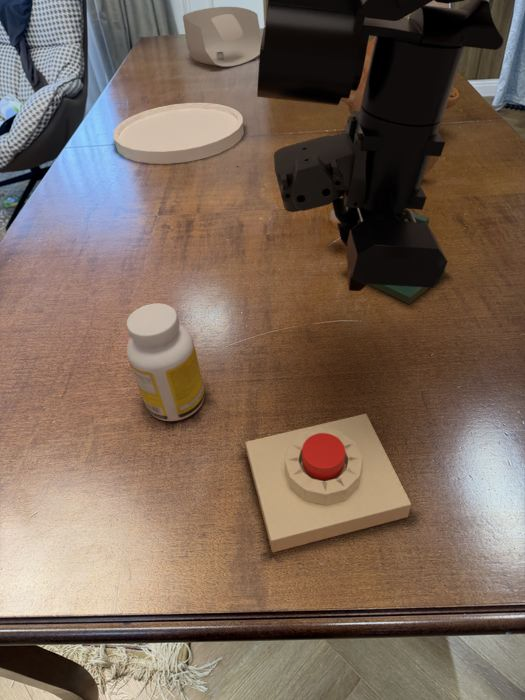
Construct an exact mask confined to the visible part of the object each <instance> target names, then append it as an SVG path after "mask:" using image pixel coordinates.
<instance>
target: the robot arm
mask: <svg viewBox="0 0 525 700" xmlns="http://www.w3.org/2000/svg"><path fill="white" fill-rule="evenodd" d="M432 1H433V0H267V6H266V15H265V16H266V17H265V26H264V27H263V31H262V35H261V37H262V41H261V47H260V54H259V60H258V74H257V90H256V97H257V98H263V99H265V98H266V99H275V100H282V101H283V100H284V101H291V102H292V101H293V102H302V103H311V104H320V105H321V104H322V105H329V106H339V105H340V102H341V98H348V99H349V96H350V93H351V90H352V91H356V90H357V89H358V86H359V84H360V80H361V77H362V72H363V68H364V63H365V57H366V51H367V45H368V43H369V39H370V37H374V38H375V37H376V38H375V42H374V47H373V52H372V56H371V61H370V66H369V70H368V75H367V80H366V85H365V89H364V94H363V99H362V104H361V108H360V111H355V110H353V115H352V116H351V115H349V116H347V122H346V126H345V131H344V132H343V133H338V134H332V135H323V136H319V137H316V138H312V139H308V140H304V141H301V142H297V143H294V144H289V145H286V146H283V147H281V148H278V149H277V150H276V151H275V152H274V153H273V163H274V164H273V165H274V173H275V176H276V181H277V185H278V189H279V192H280V196H281V197H280V198H281V200H282V205H283V207H284V210H285V211H287V212H289V213H296V212H301V211H302V212H305V211H309V210H313V209H316V208H317V209H318V208H321V207H325V206H329V205H331V204H332V209H334V213H335V216H336V218H337V219H338V220H339V222H340V223H337V225H338V229H339V230H338V233H339V237H340V241H341V243H342V244H343V245H344V247H346V267H347V269H346V271H347V288H348V290H349V291H351V292H361V290H363V289H364V288H365V287H366V286H367V285H368V284H378V285H394V286H410V287H426V288H429V289H433V288H435V287H437V285H439V284H440V281H441V280H442V279H441V277H442V274H443V272H444V269H446V267H447V264H448V260H447V257H446V255H445V253H444V251H443V250H442V247H441V245H440V243H439V241H438V239H437V237H436V235H435V233H434V232H433V231H432V229H431V227H430V226H429V224H428V225H427V223H418V222H416V220H415V218H414V216H413V214H412V212H413V211H411V210H419V211H422V210H423V209H424V206H425V204H426V200H427V196H426V194H425V192H424V189H423V188H422V186H421V185H422V184H423V180H424V179H423V178H424V176H425V175H424V174H425V171H426V167H427V164H428V161H429V158H430V156H439V158H440V157H442V154H443V150H444V147H445V145H446V141H445V140H444V138H443V137H442V135H441V134H440V132H439V131H440V128H441V124H442V121H443V117H444V115H445V111H446V110H447V109H446V106H447V103H448V99H449V96H450V93H451V90H452V87H454V84H455V82H456V78H457V75H458V71H459V69H460V65H461V62H462V59H463V57H464V53H465V50H466V48H474V49H482V50H483V49H484V50H490V51H491V50H492V51H497V50H499V49H500V48H502V46H503V45H504V37H503V36H502V34H501V33H500V31H499V28H498V27H497V26H496V23H495V21H494V18H493V14H492V10H491V3H490V1H489V0H469V1H468V2H467V3H466V4H464V5H462V6H461V7H459V8H452V7H448V8H445V7H436V6H427V5H426V4H428V3H430V2H432ZM434 1H436V2H439V3H446V4H448V3H449V4H453V3H459V2H465V0H434ZM407 16H408V17H407ZM405 17H406V18H405ZM445 109H446V110H445ZM440 279H441V280H440Z"/></svg>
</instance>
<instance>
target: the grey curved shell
mask: <svg viewBox="0 0 525 700" xmlns="http://www.w3.org/2000/svg"><path fill="white" fill-rule="evenodd" d="M182 22H183V28H184V35H185V40H186V45H187V49H188V52H189V55H190V57H192V59H193V60H195V61H197V62H198V63H201V64H205V65H210V66H217V67H234V66H240V65H242V64H245V63H248V62H250V61H252V60H254V59H255V58H256V57H258V56H260V47H261V41H262V35H261V28H260V23H259V22H260V21H259V16H258V13H256V12H255V11H253V10H251V9H248V8H244V7H239V6H215V7H208V8H202V9H198V10H193V11H190V12H188V13H185V14H184V15H183V16H182Z"/></svg>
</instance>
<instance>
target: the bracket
mask: <svg viewBox="0 0 525 700" xmlns="http://www.w3.org/2000/svg"><path fill="white" fill-rule="evenodd" d="M411 212H412V214H413V216H414V218H415V220H416V222H418V223H427V225H428V226H429V223H430V218H429V217H427V216H425V215H421V214H419V213H417V212H414V211H411ZM446 270H447V269H446V268H445V269H444V272H443V274H442V277H441V279H440V281H441V280H442V279H443V278H445V276H446V272H447V271H446ZM367 285H368V286H370V287H373V288H375V289H376V290H379V291H380V292H382V293H385V294H386V295H388V296H390V297H392V298H395V299H397V300H398V301H401V302H403V303H404V304H407V305H410V304H411V303H413V302H414V301H415V300H416V299H418V298H420V296H422V295H424V293H426V292H427V291H428V290H430V288H426V287H410V286H394V285H378V284H367Z"/></svg>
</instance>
